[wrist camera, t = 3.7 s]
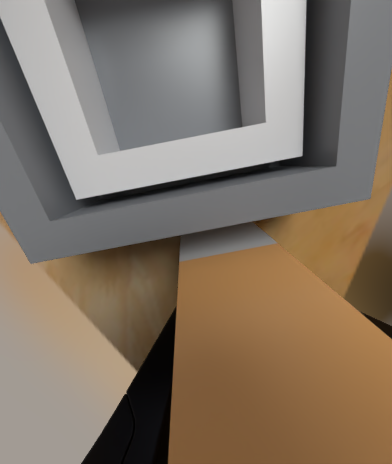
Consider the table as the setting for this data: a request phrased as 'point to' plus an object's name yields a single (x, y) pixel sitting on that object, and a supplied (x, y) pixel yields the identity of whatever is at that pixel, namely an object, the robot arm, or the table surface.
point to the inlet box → (184, 115)
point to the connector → (272, 360)
